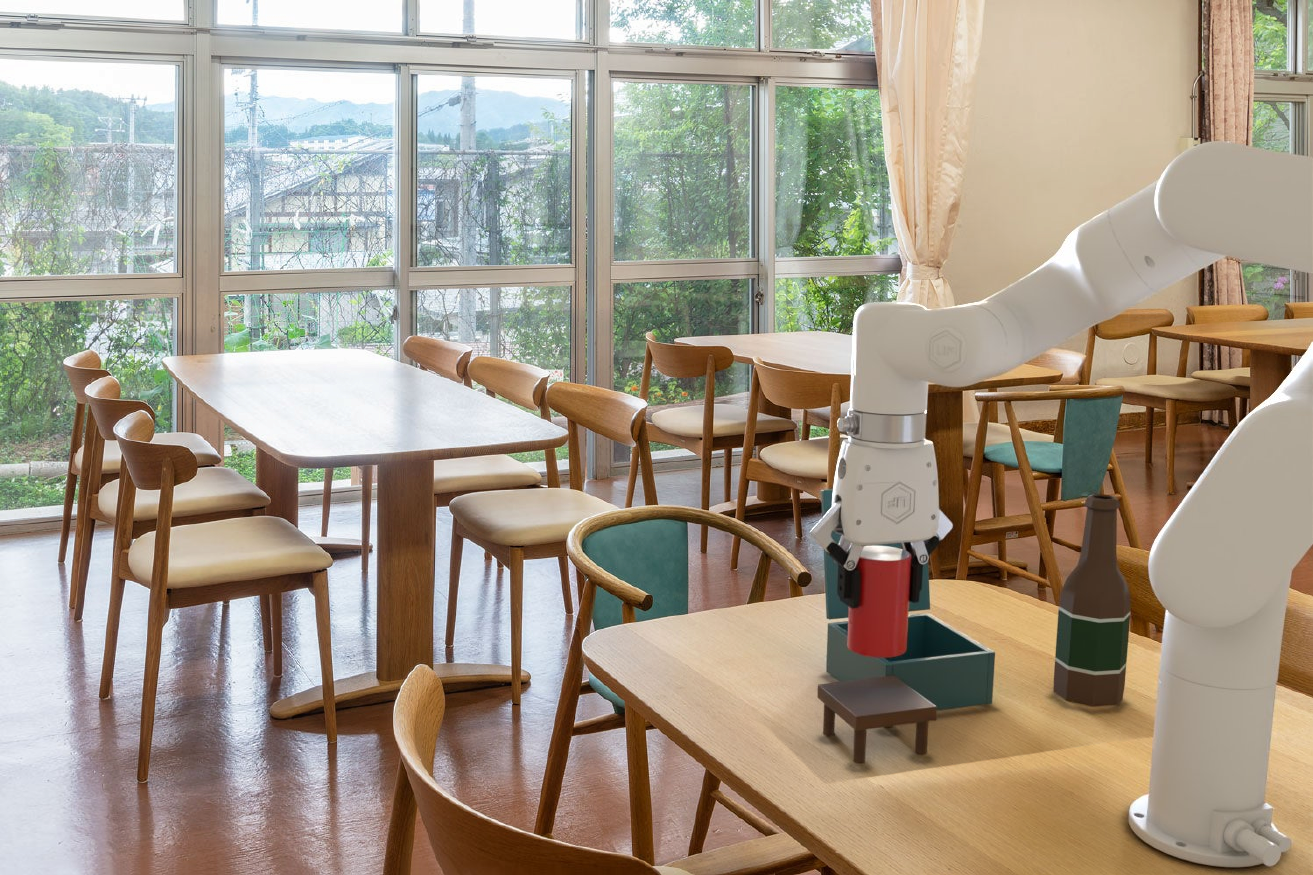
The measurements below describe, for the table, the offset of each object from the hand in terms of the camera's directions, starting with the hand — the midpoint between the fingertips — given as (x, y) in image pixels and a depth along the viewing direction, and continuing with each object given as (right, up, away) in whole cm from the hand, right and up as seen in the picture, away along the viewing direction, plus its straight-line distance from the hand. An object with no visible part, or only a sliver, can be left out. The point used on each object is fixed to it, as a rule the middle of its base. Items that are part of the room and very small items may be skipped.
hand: (879, 599), depth 129 cm
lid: (+4, +3, +23) cm, 24 cm away
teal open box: (+6, -13, +18) cm, 23 cm away
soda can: (0, -5, +1) cm, 5 cm away
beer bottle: (+27, -14, +17) cm, 35 cm away
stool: (0, -16, +3) cm, 16 cm away
